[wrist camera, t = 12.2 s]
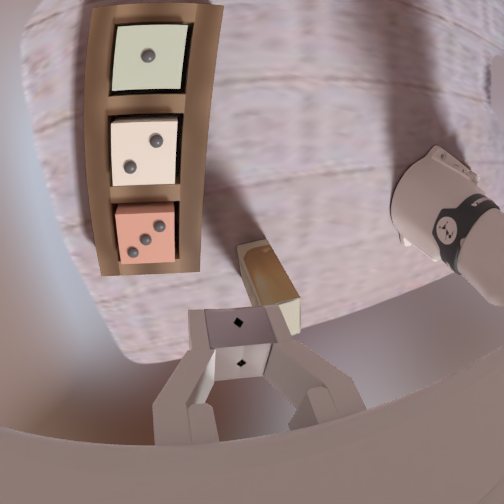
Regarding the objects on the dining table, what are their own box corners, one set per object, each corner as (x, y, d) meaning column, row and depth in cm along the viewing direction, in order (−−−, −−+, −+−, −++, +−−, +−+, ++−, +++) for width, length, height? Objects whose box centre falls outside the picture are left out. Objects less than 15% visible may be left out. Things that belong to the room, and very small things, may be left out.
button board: (217, 13, 22) (224, 5, 19) (196, 252, 38) (199, 271, 35) (101, 15, 19) (92, 7, 16) (105, 256, 35) (101, 276, 31)
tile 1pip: (184, 32, 22) (188, 24, 18) (178, 86, 26) (180, 88, 22) (125, 34, 21) (117, 26, 17) (120, 88, 24) (111, 91, 20)
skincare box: (269, 272, 43) (301, 335, 34) (241, 279, 43) (266, 345, 33) (267, 235, 40) (302, 297, 30) (235, 243, 39) (262, 309, 29)
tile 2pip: (176, 114, 27) (177, 121, 23) (173, 167, 31) (174, 184, 26) (119, 116, 26) (110, 124, 21) (120, 169, 29) (112, 187, 25)
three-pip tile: (173, 192, 32) (174, 213, 28) (172, 238, 35) (174, 263, 31) (121, 194, 30) (114, 215, 26) (125, 240, 34) (121, 265, 30)
